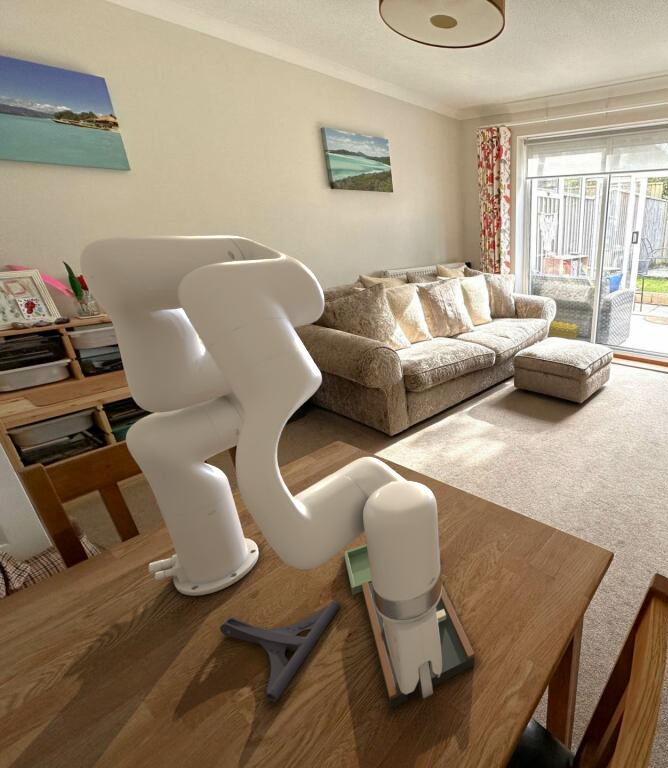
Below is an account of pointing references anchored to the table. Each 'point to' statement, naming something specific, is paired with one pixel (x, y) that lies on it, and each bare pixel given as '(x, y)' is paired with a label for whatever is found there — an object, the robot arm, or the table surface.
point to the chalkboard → (452, 644)
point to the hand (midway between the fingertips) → (418, 688)
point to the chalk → (441, 615)
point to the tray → (358, 567)
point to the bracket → (283, 644)
